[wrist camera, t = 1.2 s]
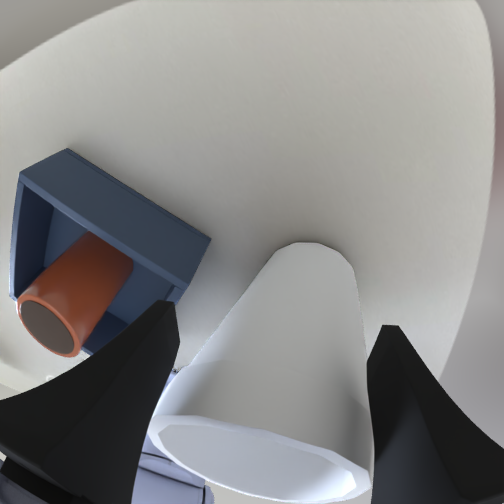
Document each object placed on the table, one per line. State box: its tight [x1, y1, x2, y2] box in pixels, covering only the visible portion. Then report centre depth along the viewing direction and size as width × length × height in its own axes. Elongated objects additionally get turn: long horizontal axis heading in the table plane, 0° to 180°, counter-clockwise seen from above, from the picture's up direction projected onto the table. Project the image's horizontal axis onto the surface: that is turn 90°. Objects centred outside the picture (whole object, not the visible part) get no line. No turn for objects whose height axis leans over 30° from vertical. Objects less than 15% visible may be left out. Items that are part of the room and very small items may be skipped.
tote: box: [10, 148, 211, 356], centre depth 21 cm, size 12×12×5 cm
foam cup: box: [147, 243, 374, 504], centre depth 16 cm, size 10×9×13 cm
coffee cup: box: [17, 230, 133, 357], centre depth 19 cm, size 5×5×8 cm
